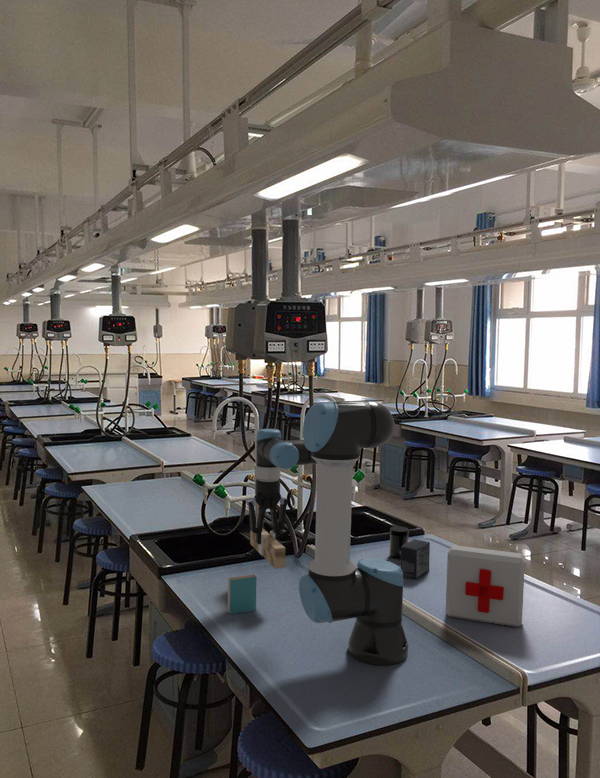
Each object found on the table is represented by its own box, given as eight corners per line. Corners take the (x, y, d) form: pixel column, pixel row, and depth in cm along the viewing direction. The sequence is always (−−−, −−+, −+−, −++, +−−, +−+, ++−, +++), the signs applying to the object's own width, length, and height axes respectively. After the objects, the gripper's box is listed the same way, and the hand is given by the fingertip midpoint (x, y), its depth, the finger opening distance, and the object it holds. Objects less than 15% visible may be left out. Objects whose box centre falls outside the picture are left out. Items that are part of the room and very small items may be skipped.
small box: (412, 567, 232) (413, 538, 231) (429, 571, 228) (431, 541, 227) (398, 575, 224) (399, 545, 223) (416, 580, 220) (417, 549, 219)
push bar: (284, 567, 195) (285, 547, 195) (275, 568, 194) (275, 548, 193) (258, 542, 217) (259, 525, 217) (250, 543, 216) (250, 525, 216)
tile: (255, 610, 193) (256, 576, 192) (229, 614, 190) (230, 580, 189) (253, 607, 195) (254, 574, 194) (227, 611, 192) (228, 578, 191)
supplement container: (396, 560, 238) (397, 532, 238) (385, 555, 244) (386, 527, 244) (411, 558, 242) (412, 530, 241) (400, 552, 248) (401, 525, 247)
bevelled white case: (444, 619, 189) (446, 551, 188) (447, 608, 197) (450, 543, 195) (521, 631, 182) (524, 561, 180) (522, 620, 189) (525, 552, 188)
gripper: (287, 475, 210) (286, 546, 212) (239, 478, 204) (238, 552, 206) (296, 479, 203) (295, 554, 205) (247, 483, 197) (245, 559, 199)
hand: (266, 553), depth 205 cm, fingers closed on push bar, 3 cm apart
